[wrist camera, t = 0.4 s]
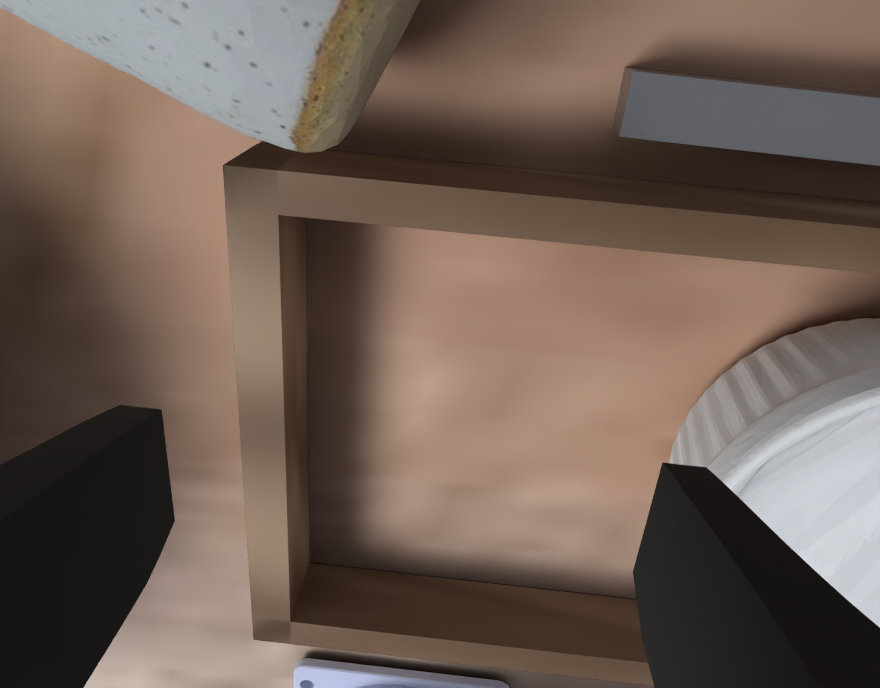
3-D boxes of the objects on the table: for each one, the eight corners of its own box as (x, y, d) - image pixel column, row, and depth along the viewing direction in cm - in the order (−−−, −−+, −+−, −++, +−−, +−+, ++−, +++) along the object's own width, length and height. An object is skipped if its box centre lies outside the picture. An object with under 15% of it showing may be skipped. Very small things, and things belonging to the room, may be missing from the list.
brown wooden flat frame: (934, 655, 24) (980, 724, 21) (275, 580, 24) (253, 639, 22) (1184, 231, 17) (1290, 267, 14) (258, 143, 17) (222, 165, 15)
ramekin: (638, 291, 19) (686, 392, 14) (1095, 261, 17) (1317, 359, 13) (631, 596, 24) (664, 746, 19) (985, 589, 22) (1116, 747, 18)
